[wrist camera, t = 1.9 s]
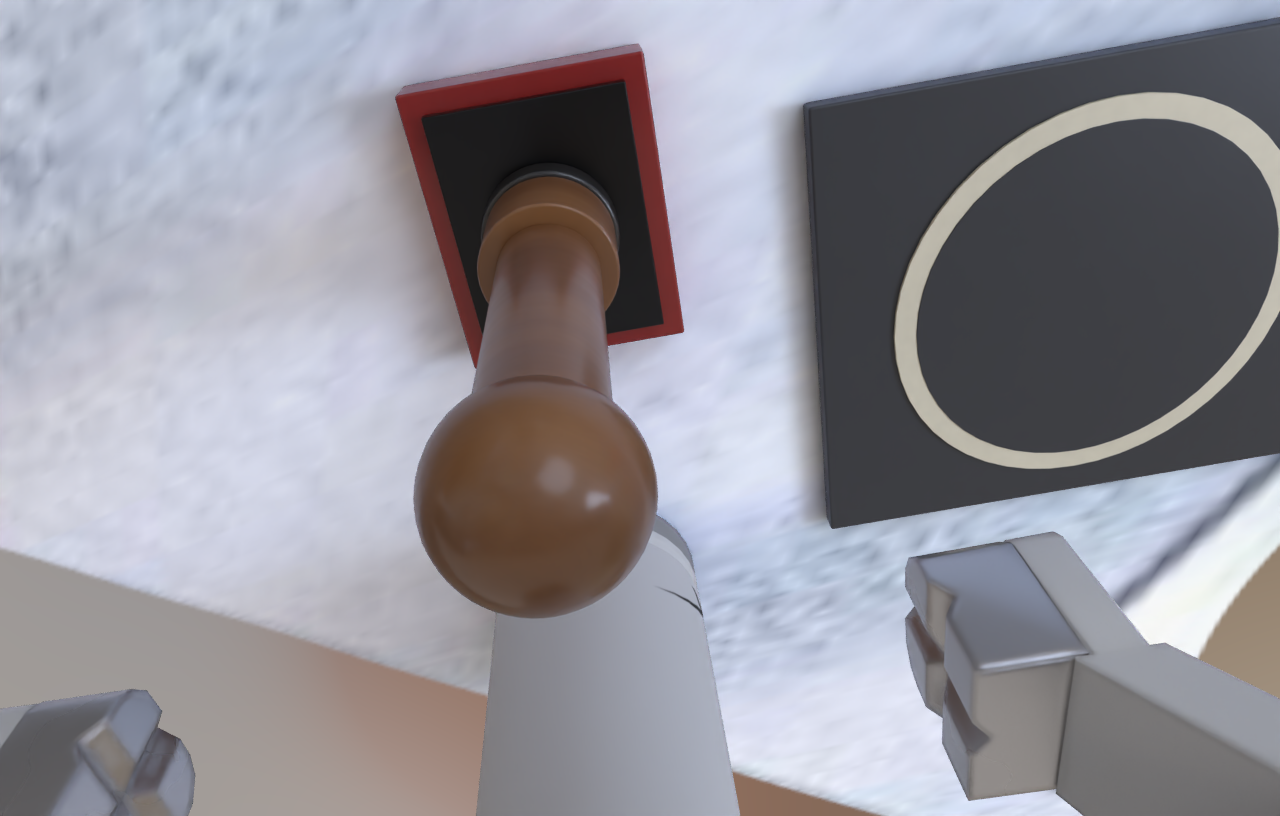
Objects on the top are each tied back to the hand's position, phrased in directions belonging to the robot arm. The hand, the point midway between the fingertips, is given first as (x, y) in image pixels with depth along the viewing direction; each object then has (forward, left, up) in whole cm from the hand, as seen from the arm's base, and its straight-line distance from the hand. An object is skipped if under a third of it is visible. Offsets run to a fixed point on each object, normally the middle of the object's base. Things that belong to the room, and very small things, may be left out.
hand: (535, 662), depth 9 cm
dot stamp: (0, 0, -13) cm, 13 cm away
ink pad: (0, 0, -15) cm, 15 cm away
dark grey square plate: (+5, +14, -15) cm, 21 cm away
